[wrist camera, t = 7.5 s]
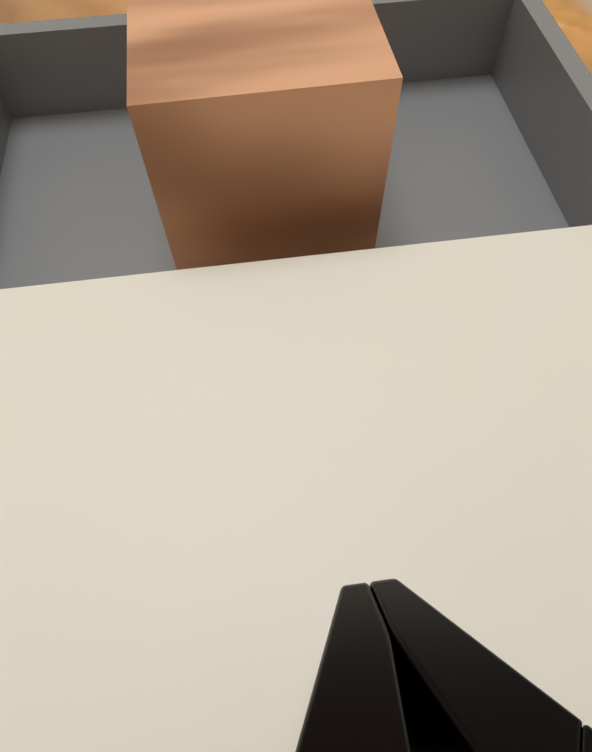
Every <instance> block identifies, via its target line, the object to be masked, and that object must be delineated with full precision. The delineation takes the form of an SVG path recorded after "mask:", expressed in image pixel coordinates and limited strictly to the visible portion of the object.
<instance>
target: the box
mask: <svg viewBox="0 0 592 752" xmlns="http://www.w3.org/2000/svg"><path fill="white" fill-rule="evenodd" d="M371 1H372V3H373V6H374V8H375V11H376V13H377V15H378V18H379V20H380V23H381V25H382V28H383V30H384V32H385V35H386V37H387V40H388V42H389V45H390V47H391V50H392V52H393V54H394V57H395V59H396V62H397V64H398V67H399V69H400V71H401V74H402V76H403V81H402V87H401V93H400V99H399V105H398V111H397V117H396V123H395V129H394V135H393V142H392V148H391V154H390V160H389V166H388V172H387V178H386V184H385V190H384V196H383V202H382V208H381V214H380V220H379V226H378V232H377V238H376V244H375V248H384V247H393V246H403V245H412V244H421V243H430V242H439V241H449V240H458V239H467V238H476V237H485V236H495V235H504V234H513V233H522V232H531V231H541V230H550V229H559V228H568V227H577V226H587V225H592V75H591V74H590V72H589V71H588V69H587V68H586V66H585V65H584V63H583V62H582V60H581V58H580V57H579V55H578V54H577V52H576V51H575V49H574V48H573V46H572V45H571V43H570V42H569V40H568V39H567V37H566V36H565V34H564V33H563V31H562V30H561V28H560V27H559V25H558V24H557V22H556V21H555V19H554V18H553V16H552V15H551V13H550V12H549V10H548V9H547V7H546V6H545V4H544V3H543V1H542V0H371ZM173 270H177V269H176V266H175V263H174V259H173V256H172V253H171V250H170V246H169V243H168V240H167V237H166V233H165V230H164V227H163V223H162V220H161V217H160V214H159V210H158V207H157V204H156V201H155V197H154V194H153V191H152V187H151V184H150V181H149V178H148V174H147V171H146V168H145V165H144V161H143V158H142V155H141V151H140V148H139V145H138V142H137V138H136V135H135V132H134V129H133V125H132V122H131V119H130V115H129V112H128V109H127V14H117V15H105V16H93V17H81V18H69V19H57V20H45V21H33V22H21V23H9V24H0V289H7V288H16V287H25V286H35V285H44V284H53V283H62V282H71V281H81V280H90V279H99V278H108V277H117V276H127V275H136V274H145V273H154V272H163V271H173Z"/></svg>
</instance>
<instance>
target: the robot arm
mask: <svg viewBox="0 0 592 752" xmlns="http://www.w3.org/2000/svg"><path fill="white" fill-rule="evenodd" d="M295 752H592V728H591V727H590V726H588V725H583V727H582V721H581V720H580V719H579V718H578V717H576V716H575V715H574V714H572V713H571V712H570V711H569V710H567V709H566V708H565V707H563V706H562V705H561V704H559V703H558V702H557V701H555V700H554V699H553V698H552V697H550V696H549V695H548V694H546V693H545V692H544V691H542V690H541V689H540V688H539V687H537V686H536V685H535V684H533V683H532V682H531V681H529V680H528V679H527V678H525V677H524V676H523V675H522V674H520V673H519V672H518V671H516V670H515V669H514V668H512V667H511V666H510V665H508V664H507V663H506V662H505V661H503V660H502V659H501V658H499V657H498V656H497V655H495V654H494V653H493V652H492V651H490V650H489V649H488V648H486V647H485V646H484V645H482V644H481V643H480V642H478V641H477V640H476V639H475V638H473V637H472V636H471V635H469V634H468V633H467V632H465V631H464V630H463V629H461V628H460V627H459V626H458V625H456V624H455V623H454V622H452V621H451V620H450V619H448V618H447V617H446V616H444V615H443V614H442V613H441V612H439V611H438V610H437V609H435V608H434V607H433V606H431V605H430V604H429V603H428V602H426V601H425V600H424V599H422V598H421V597H420V596H418V595H417V594H416V593H414V592H413V591H412V590H411V589H409V588H408V587H407V586H405V585H404V584H403V583H401V582H400V581H399V580H397V579H385V580H378V581H373V582H371V583H370V586H369V585H368V584H367V583H357V584H350V585H344V586H343V587H342V588H341V590H340V593H339V597H338V600H337V604H336V607H335V611H334V614H333V618H332V622H331V625H330V629H329V632H328V636H327V640H326V643H325V647H324V650H323V654H322V657H321V661H320V665H319V668H318V672H317V675H316V679H315V682H314V686H313V690H312V693H311V697H310V700H309V704H308V707H307V711H306V715H305V718H304V722H303V725H302V729H301V733H300V736H299V740H298V743H297V747H296V750H295Z"/></svg>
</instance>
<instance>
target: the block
mask: <svg viewBox="0 0 592 752" xmlns="http://www.w3.org/2000/svg"><path fill="white" fill-rule="evenodd" d="M402 81H403V76H402V74H401V71H400V69H399V67H398V64H397V62H396V59H395V57H394V54H393V52H392V50H391V47H390V45H389V42H388V40H387V37H386V35H385V32H384V30H383V28H382V25H381V23H380V20H379V18H378V15H377V13H376V11H375V8H374V6H373V3H372V1H371V0H127V109H128V112H129V115H130V119H131V122H132V125H133V129H134V132H135V135H136V138H137V142H138V145H139V148H140V151H141V155H142V158H143V161H144V165H145V168H146V171H147V174H148V178H149V181H150V184H151V187H152V191H153V194H154V197H155V201H156V204H157V207H158V210H159V214H160V217H161V220H162V223H163V227H164V230H165V233H166V237H167V240H168V243H169V246H170V250H171V253H172V256H173V259H174V263H175V266H176V269H177V270H182V269H191V268H200V267H209V266H219V265H228V264H237V263H246V262H255V261H265V260H274V259H283V258H292V257H301V256H311V255H320V254H329V253H338V252H347V251H357V250H366V249H375V244H376V238H377V232H378V226H379V220H380V214H381V208H382V202H383V196H384V190H385V184H386V178H387V172H388V166H389V160H390V154H391V148H392V142H393V135H394V129H395V123H396V117H397V111H398V105H399V99H400V93H401V87H402Z"/></svg>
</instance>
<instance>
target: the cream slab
mask: <svg viewBox="0 0 592 752" xmlns="http://www.w3.org/2000/svg"><path fill="white" fill-rule="evenodd" d="M385 579H397V580H399V581H400V582H401V583H403V584H404V585H405V586H407V587H408V588H409V589H411V590H412V591H413V592H414V593H416V594H417V595H418V596H420V597H421V598H422V599H424V600H425V601H426V602H428V603H429V604H430V605H431V606H433V607H434V608H435V609H437V610H438V611H439V612H441V613H442V614H443V615H444V616H446V617H447V618H448V619H450V620H451V621H452V622H454V623H455V624H456V625H458V626H459V627H460V628H461V629H463V630H464V631H465V632H467V633H468V634H469V635H471V636H472V637H473V638H475V639H476V640H477V641H478V642H480V643H481V644H482V645H484V646H485V647H486V648H488V649H489V650H490V651H492V652H493V653H494V654H495V655H497V656H498V657H499V658H501V659H502V660H503V661H505V662H506V663H507V664H508V665H510V666H511V667H512V668H514V669H515V670H516V671H518V672H519V673H520V674H522V675H523V676H524V677H525V678H527V679H528V680H529V681H531V682H532V683H533V684H535V685H536V686H537V687H539V688H540V689H541V690H542V691H544V692H545V693H546V694H548V695H549V696H550V697H552V698H553V699H554V700H555V701H557V702H558V703H559V704H561V705H562V706H563V707H565V708H566V709H567V710H569V711H570V712H571V713H572V714H574V715H575V716H576V717H578V718H579V719H580V720H581V721H582V727H583V725H588V726H590V727H591V728H592V225H587V226H577V227H568V228H559V229H550V230H541V231H531V232H522V233H513V234H504V235H495V236H485V237H476V238H467V239H458V240H449V241H439V242H430V243H421V244H412V245H403V246H393V247H384V248H375V249H366V250H357V251H347V252H338V253H329V254H320V255H311V256H301V257H292V258H283V259H274V260H265V261H255V262H246V263H237V264H228V265H219V266H209V267H200V268H191V269H182V270H173V271H163V272H154V273H145V274H136V275H127V276H117V277H108V278H99V279H90V280H81V281H71V282H62V283H53V284H44V285H35V286H25V287H16V288H7V289H0V752H295V750H296V747H297V743H298V740H299V736H300V733H301V729H302V725H303V722H304V718H305V715H306V711H307V707H308V704H309V700H310V697H311V693H312V690H313V686H314V682H315V679H316V675H317V672H318V668H319V665H320V661H321V657H322V654H323V650H324V647H325V643H326V640H327V636H328V632H329V629H330V625H331V622H332V618H333V614H334V611H335V607H336V604H337V600H338V597H339V593H340V590H341V588H342V587H343V586H344V585H350V584H357V583H367V584H368V585H369V586H370V583H371V582H373V581H378V580H385Z"/></svg>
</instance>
